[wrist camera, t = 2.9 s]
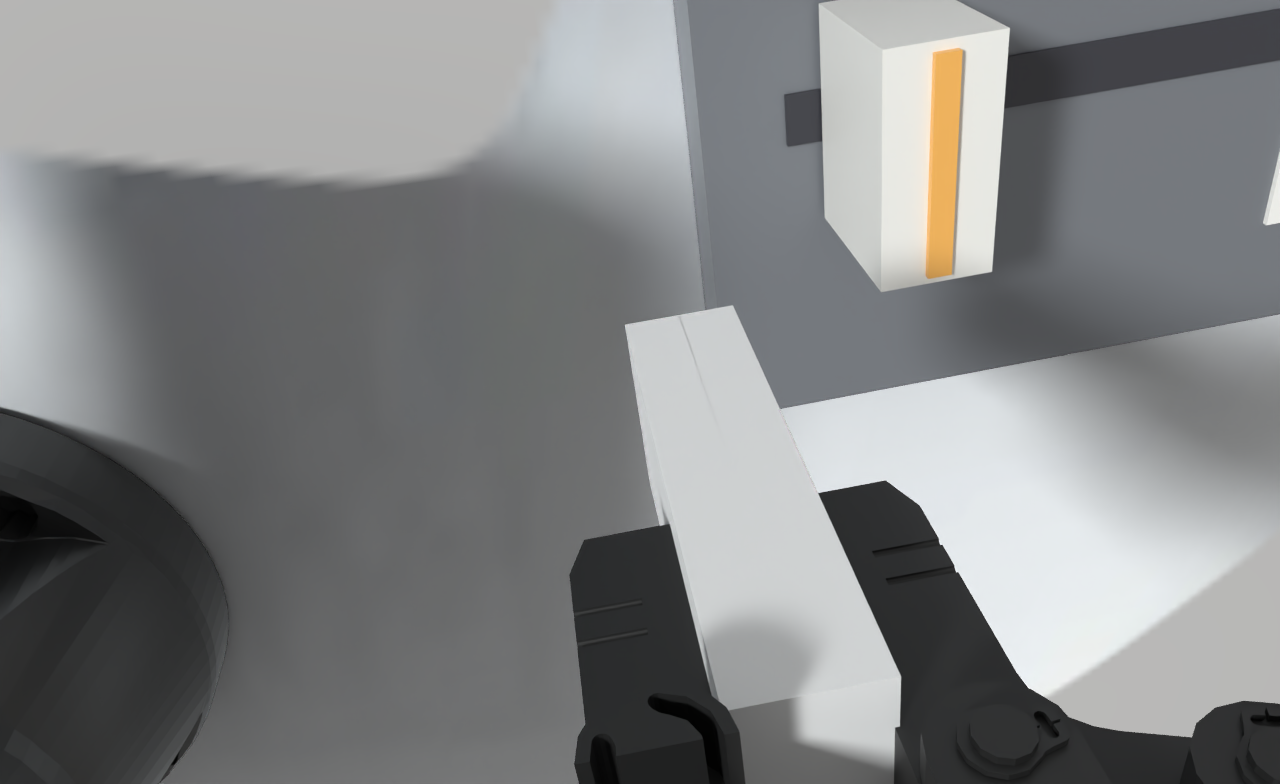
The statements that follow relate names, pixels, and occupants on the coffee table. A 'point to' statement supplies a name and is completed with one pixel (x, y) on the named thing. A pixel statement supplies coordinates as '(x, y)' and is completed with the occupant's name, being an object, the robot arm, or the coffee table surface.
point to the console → (1027, 191)
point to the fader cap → (912, 135)
